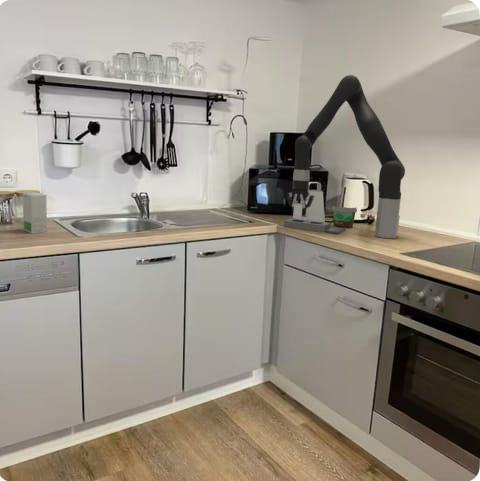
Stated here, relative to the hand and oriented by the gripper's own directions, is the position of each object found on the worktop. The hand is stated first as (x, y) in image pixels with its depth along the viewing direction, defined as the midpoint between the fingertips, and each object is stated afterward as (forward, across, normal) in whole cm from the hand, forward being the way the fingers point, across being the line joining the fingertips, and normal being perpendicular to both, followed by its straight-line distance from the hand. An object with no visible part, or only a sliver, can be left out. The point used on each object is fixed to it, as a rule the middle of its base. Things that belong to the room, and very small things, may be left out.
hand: (298, 215), depth 216 cm
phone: (+6, -19, 0) cm, 19 cm away
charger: (+1, 0, 0) cm, 1 cm away
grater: (+6, +2, -23) cm, 24 cm away
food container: (+6, -18, -14) cm, 23 cm away
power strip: (+6, -5, 0) cm, 7 cm away
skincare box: (+6, +83, +81) cm, 116 cm away
